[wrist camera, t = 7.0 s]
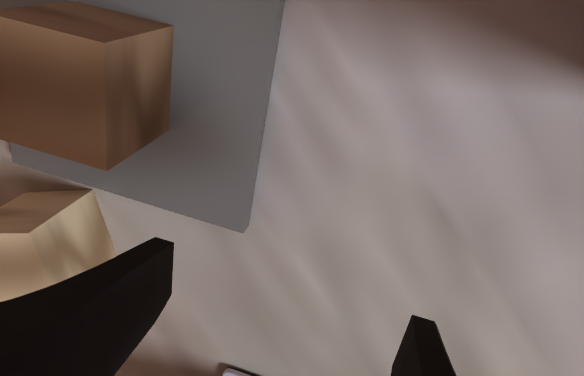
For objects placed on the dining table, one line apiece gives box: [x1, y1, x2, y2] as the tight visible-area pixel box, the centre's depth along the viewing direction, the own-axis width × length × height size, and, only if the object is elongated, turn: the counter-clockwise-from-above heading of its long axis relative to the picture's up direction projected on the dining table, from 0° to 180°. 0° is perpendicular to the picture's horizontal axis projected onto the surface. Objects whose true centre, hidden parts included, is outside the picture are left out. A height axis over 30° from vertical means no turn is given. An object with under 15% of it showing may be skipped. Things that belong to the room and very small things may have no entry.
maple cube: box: [0, 190, 117, 302], centre depth 26 cm, size 5×5×5 cm
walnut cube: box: [0, 1, 174, 171], centre depth 19 cm, size 5×5×5 cm
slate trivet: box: [0, 0, 285, 233], centre depth 22 cm, size 14×14×1 cm
